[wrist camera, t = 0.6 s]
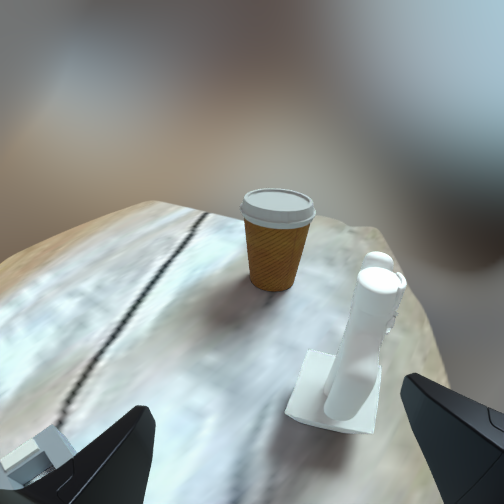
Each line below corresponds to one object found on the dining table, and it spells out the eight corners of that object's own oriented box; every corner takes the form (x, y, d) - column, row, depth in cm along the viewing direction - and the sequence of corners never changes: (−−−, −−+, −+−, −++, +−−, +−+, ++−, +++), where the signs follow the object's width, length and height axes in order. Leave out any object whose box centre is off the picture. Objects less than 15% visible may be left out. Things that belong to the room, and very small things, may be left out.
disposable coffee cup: (239, 260, 44) (240, 186, 38) (299, 261, 45) (308, 189, 39) (238, 299, 36) (239, 211, 30) (311, 299, 36) (325, 214, 30)
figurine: (274, 441, 19) (306, 315, 12) (304, 363, 27) (334, 231, 20) (355, 460, 17) (452, 346, 10) (370, 379, 25) (427, 252, 17)
